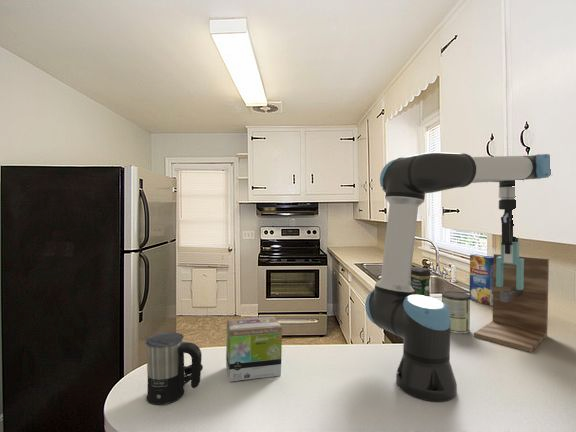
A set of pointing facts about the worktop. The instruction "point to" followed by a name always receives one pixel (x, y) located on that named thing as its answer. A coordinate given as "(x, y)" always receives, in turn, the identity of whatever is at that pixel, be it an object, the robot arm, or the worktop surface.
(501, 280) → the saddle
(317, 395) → the worktop surface
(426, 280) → the coffee jar
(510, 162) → the robot arm
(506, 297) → the hook arm
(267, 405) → the worktop surface
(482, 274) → the juice carton
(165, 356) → the milk frother
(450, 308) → the coffee can
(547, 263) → the hook stand
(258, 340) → the tea box
